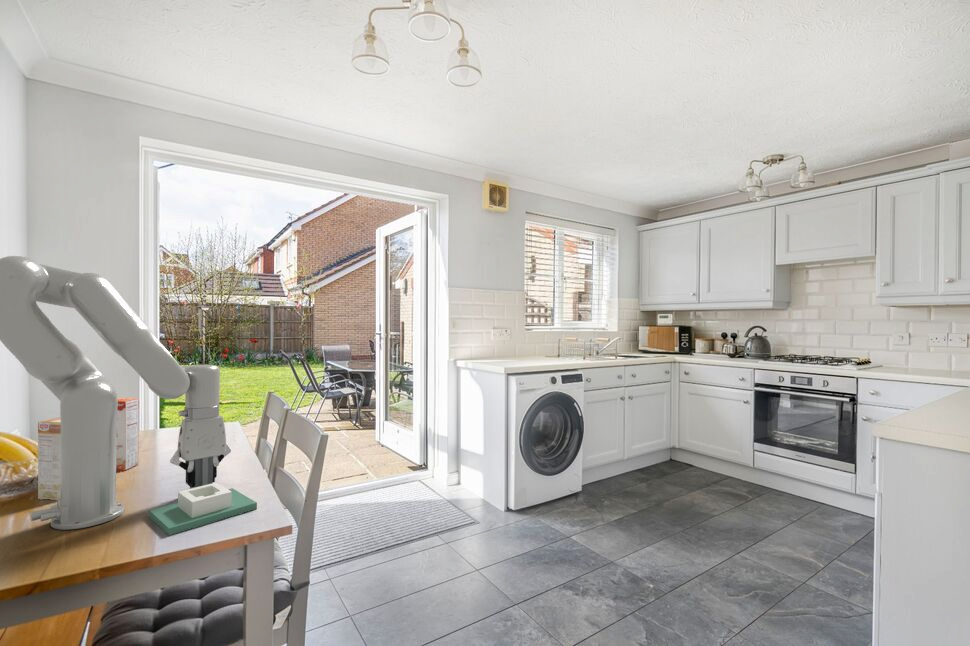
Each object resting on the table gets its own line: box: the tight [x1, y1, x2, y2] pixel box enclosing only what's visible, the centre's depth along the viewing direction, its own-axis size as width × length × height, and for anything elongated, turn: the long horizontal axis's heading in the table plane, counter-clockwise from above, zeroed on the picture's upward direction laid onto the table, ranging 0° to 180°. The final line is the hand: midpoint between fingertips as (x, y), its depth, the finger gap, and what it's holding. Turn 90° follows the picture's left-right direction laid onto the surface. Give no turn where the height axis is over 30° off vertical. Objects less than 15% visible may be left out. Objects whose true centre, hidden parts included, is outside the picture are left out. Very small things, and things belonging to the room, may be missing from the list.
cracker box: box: [116, 397, 140, 472], centre depth 137 cm, size 14×6×21 cm, turn 92°
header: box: [177, 482, 232, 518], centre depth 107 cm, size 8×9×4 cm
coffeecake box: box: [37, 416, 61, 501], centre depth 121 cm, size 15×7×20 cm, turn 174°
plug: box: [189, 457, 214, 489], centre depth 119 cm, size 4×5×10 cm
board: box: [148, 487, 258, 536], centre depth 108 cm, size 18×14×2 cm
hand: (201, 482), depth 119 cm, fingers closed on plug, 4 cm apart
